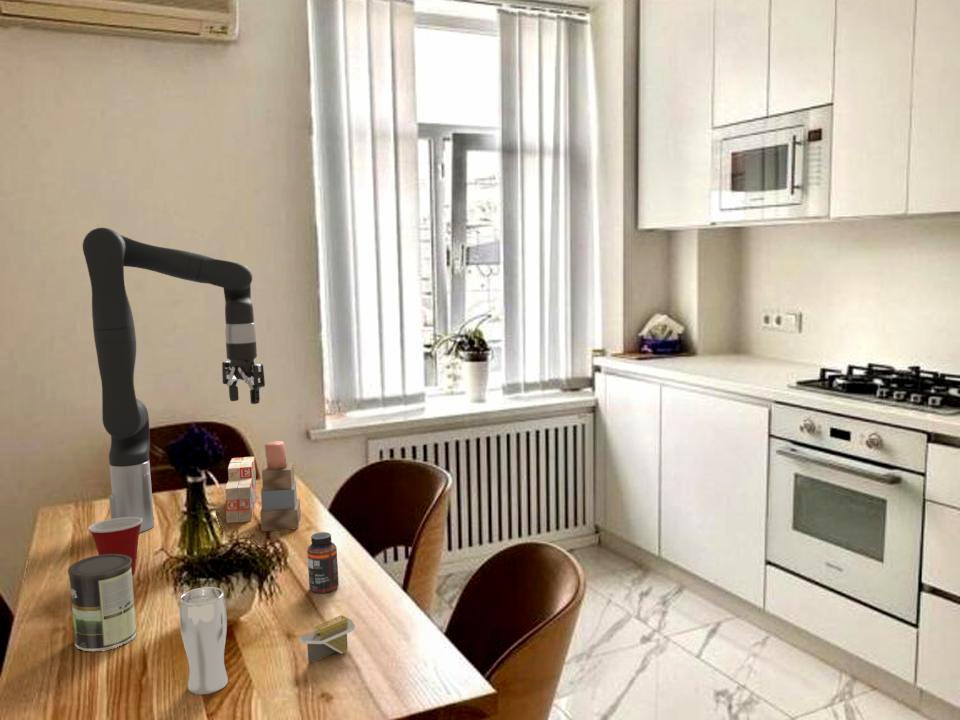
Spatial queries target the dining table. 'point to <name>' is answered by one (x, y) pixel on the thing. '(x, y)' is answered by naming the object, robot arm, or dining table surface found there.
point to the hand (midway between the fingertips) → (244, 402)
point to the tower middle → (279, 499)
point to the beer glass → (204, 638)
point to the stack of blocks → (241, 489)
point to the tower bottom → (281, 518)
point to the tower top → (278, 478)
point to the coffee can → (102, 602)
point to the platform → (328, 638)
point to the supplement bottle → (322, 563)
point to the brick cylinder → (275, 455)
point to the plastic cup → (117, 537)
